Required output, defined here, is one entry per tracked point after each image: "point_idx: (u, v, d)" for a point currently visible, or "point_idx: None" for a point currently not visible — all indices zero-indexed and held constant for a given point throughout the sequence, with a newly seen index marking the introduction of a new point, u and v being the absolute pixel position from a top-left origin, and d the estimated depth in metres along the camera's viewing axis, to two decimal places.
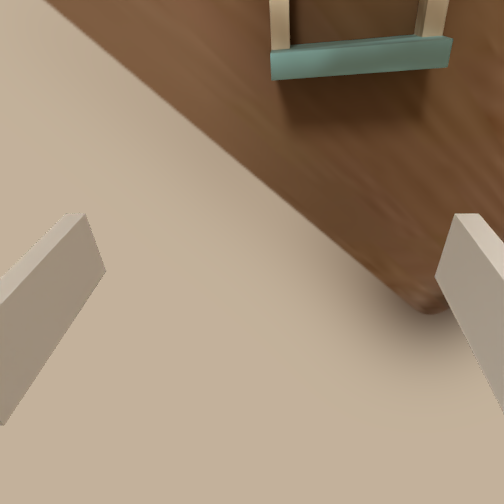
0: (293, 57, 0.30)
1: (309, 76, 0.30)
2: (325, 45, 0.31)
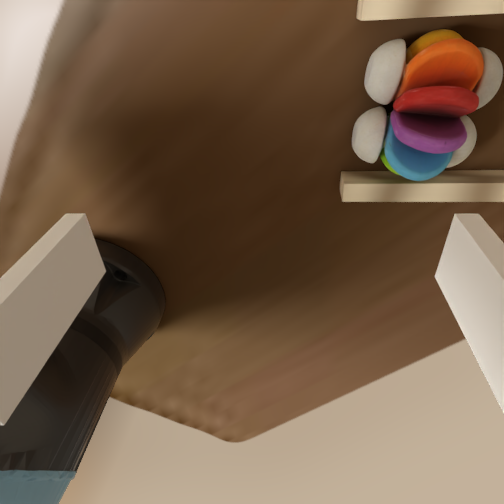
0: None
1: None
2: None
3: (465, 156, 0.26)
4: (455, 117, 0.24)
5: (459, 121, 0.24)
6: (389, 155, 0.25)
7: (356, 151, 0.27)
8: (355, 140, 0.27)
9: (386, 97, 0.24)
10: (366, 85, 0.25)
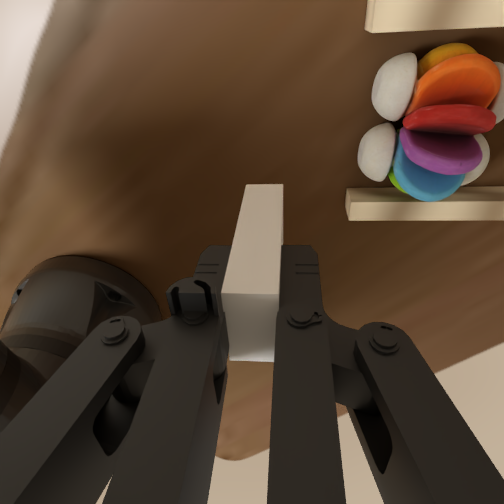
0: None
1: None
2: None
3: (478, 175, 0.24)
4: (469, 135, 0.22)
5: (473, 139, 0.22)
6: (399, 175, 0.24)
7: (363, 169, 0.26)
8: (362, 158, 0.25)
9: (395, 114, 0.23)
10: (374, 101, 0.23)
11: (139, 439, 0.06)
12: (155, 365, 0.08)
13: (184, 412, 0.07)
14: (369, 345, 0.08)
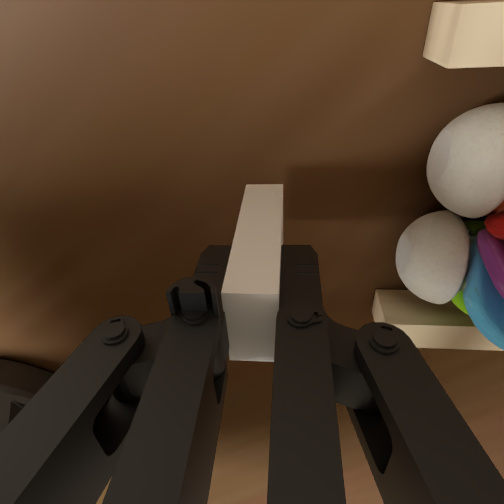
0: None
1: None
2: None
3: None
4: None
5: None
6: (476, 312, 0.13)
7: (406, 284, 0.16)
8: (406, 269, 0.15)
9: (476, 212, 0.13)
10: (434, 184, 0.13)
11: (139, 439, 0.06)
12: (154, 365, 0.08)
13: (184, 412, 0.07)
14: (369, 345, 0.08)
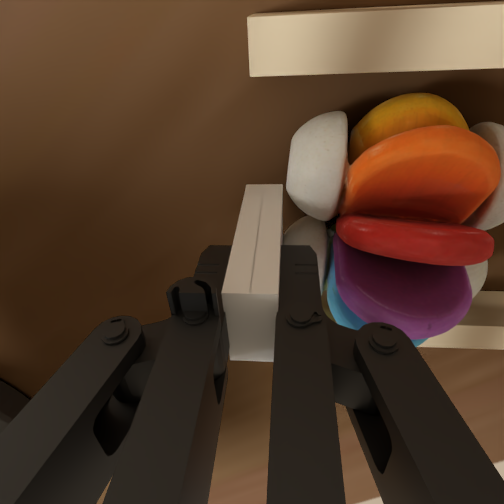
0: None
1: None
2: None
3: None
4: None
5: None
6: (333, 311, 0.14)
7: None
8: None
9: (320, 215, 0.13)
10: (287, 190, 0.14)
11: (139, 439, 0.06)
12: (155, 365, 0.08)
13: (184, 412, 0.07)
14: (368, 345, 0.08)
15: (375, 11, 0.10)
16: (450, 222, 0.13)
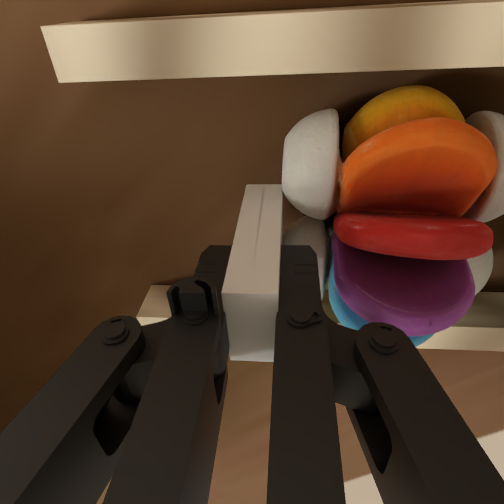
0: None
1: None
2: None
3: (476, 293, 0.14)
4: None
5: None
6: (335, 310, 0.14)
7: None
8: None
9: (317, 214, 0.13)
10: (282, 190, 0.14)
11: (139, 439, 0.06)
12: (155, 364, 0.08)
13: (184, 412, 0.07)
14: (369, 345, 0.08)
15: (157, 20, 0.11)
16: (449, 215, 0.12)
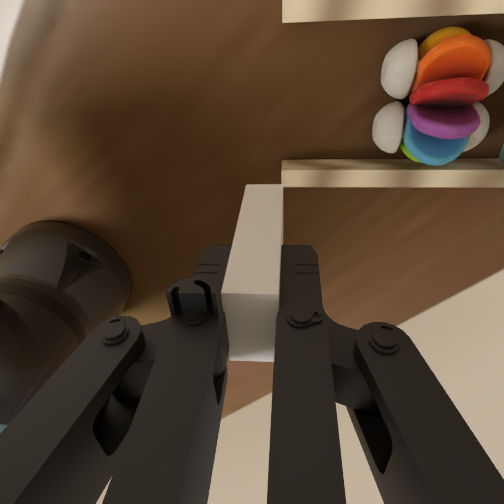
0: None
1: None
2: None
3: (480, 139, 0.28)
4: (468, 104, 0.26)
5: (472, 108, 0.26)
6: (409, 144, 0.27)
7: (377, 143, 0.30)
8: (376, 133, 0.29)
9: (402, 92, 0.27)
10: (383, 83, 0.27)
11: (139, 439, 0.06)
12: (155, 364, 0.08)
13: (184, 412, 0.07)
14: (369, 345, 0.08)
15: None
16: None
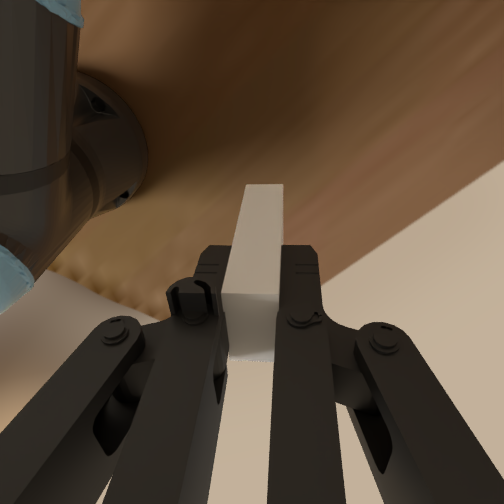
0: None
1: None
2: None
3: None
4: None
5: None
6: None
7: None
8: None
9: None
10: None
11: (139, 439, 0.06)
12: (155, 365, 0.08)
13: (184, 412, 0.07)
14: (369, 345, 0.08)
15: None
16: None
